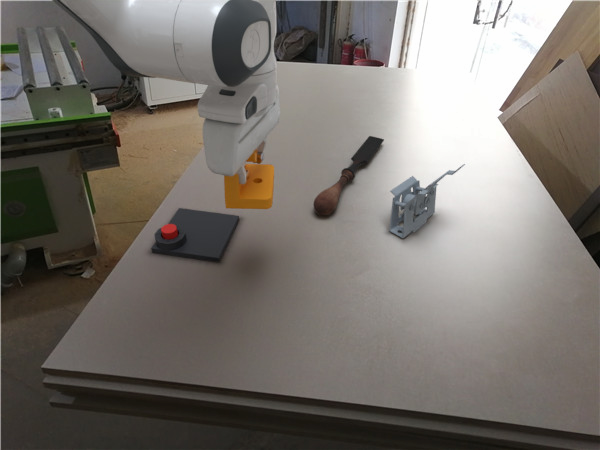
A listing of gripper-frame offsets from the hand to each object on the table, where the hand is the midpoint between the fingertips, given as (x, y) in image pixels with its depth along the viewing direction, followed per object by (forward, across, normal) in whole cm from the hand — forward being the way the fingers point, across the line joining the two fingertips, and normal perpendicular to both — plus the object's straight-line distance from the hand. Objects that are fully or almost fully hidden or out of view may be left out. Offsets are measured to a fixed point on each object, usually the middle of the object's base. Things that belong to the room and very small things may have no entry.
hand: (250, 171), depth 66 cm
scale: (+21, -5, -15) cm, 26 cm away
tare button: (+19, 0, -18) cm, 26 cm away
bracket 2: (+22, -24, +28) cm, 43 cm away
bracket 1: (+5, 0, 0) cm, 5 cm away
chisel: (+22, -40, +11) cm, 47 cm away
